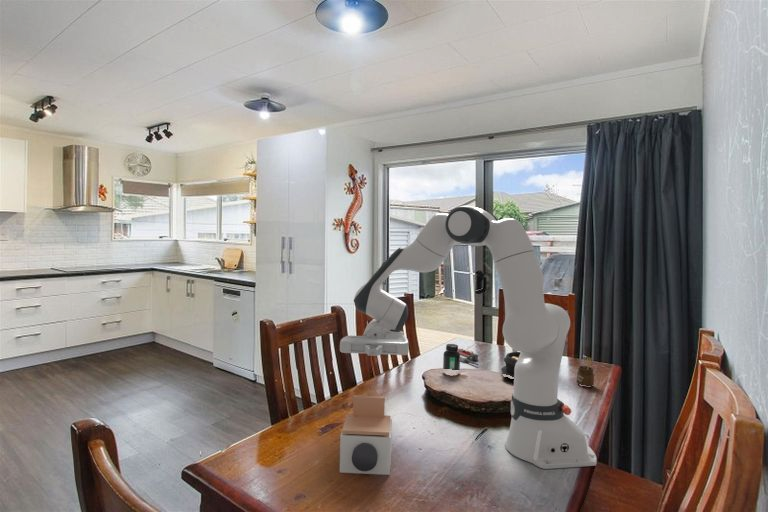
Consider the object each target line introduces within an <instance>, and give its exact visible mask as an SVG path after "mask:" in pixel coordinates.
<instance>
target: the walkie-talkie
mask: <svg viewBox="0 0 768 512" xmlns="http://www.w3.org/2000/svg"><path fill="white" fill-rule="evenodd" d="M458 352H459V353H460V362H462V361H463V362H462V363H469V364H471V365H475V366H479V363H477V361H478V360H479V355H478V354H475V353H474V351H473V350H470V349H469V348H467V349H464V348H458ZM475 361H476V362H475Z"/></svg>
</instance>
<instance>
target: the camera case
mask: <svg viewBox="0 0 768 512" xmlns="http://www.w3.org/2000/svg"><path fill="white" fill-rule="evenodd" d="M345 420H346V418H345ZM345 420H344V421H345ZM344 424H345V422H344V423H343V426H342V429H341V431H340V438H339V439H340V440H339V473H342V474H343V473H344V474H361V475H362V474H366V475H367V474H368V475H384V476H385V475H386V476H390V475H391V462H392V441H393V440H392V437H393V435H392V431H393V419H392V418H390V432H389V436H383V435H361V434H342V430H343V427H344Z"/></svg>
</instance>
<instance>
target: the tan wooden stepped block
mask: <svg viewBox="0 0 768 512" xmlns="http://www.w3.org/2000/svg"><path fill="white" fill-rule="evenodd" d="M385 398H386V396H385V395H384V396H382V395H381V396H380V395H378V396H377V395H356V394H354V395H353V399H352V400H353V402H352V404H353V405H352V407H353V409H352V413H347V415H346V417H345V419H346V420H344V423H345V424H344V423H343V426H344V427H343V426H342V429H343V430H342V429H341V432H342V434H361V435H383V436H389V432H390V419H391V418H392V417H391V415H385V409H386V407H385V403H386V402H385V401H386V399H385Z"/></svg>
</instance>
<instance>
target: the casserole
mask: <svg viewBox="0 0 768 512" xmlns="http://www.w3.org/2000/svg"><path fill="white" fill-rule="evenodd" d="M520 353H521V351H512V352H508V353H506V355H505V357H504V358H503V361H504V363H505V366H502V367H501V375H502V374H506V375H510V376H512V377H514V369H515V365H516V362H517V361H518V358H519V356H520Z"/></svg>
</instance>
